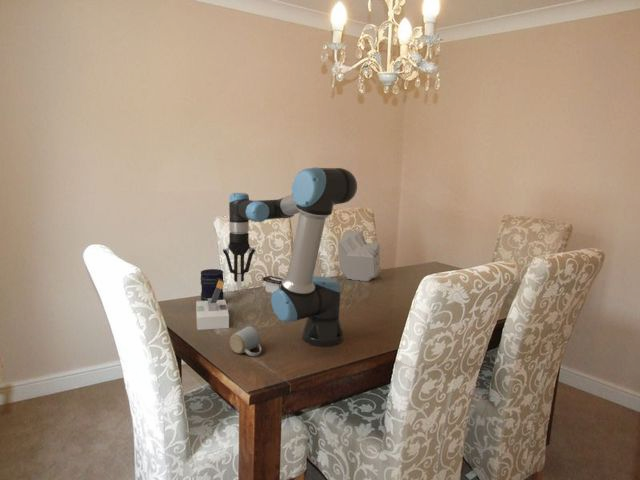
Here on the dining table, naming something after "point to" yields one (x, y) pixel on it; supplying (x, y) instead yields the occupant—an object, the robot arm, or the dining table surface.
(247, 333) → the ceramic mug
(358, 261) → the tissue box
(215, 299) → the switch lever
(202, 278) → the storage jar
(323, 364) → the dining table surface
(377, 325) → the dining table surface
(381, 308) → the dining table surface
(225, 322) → the switch box
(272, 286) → the grey bin
